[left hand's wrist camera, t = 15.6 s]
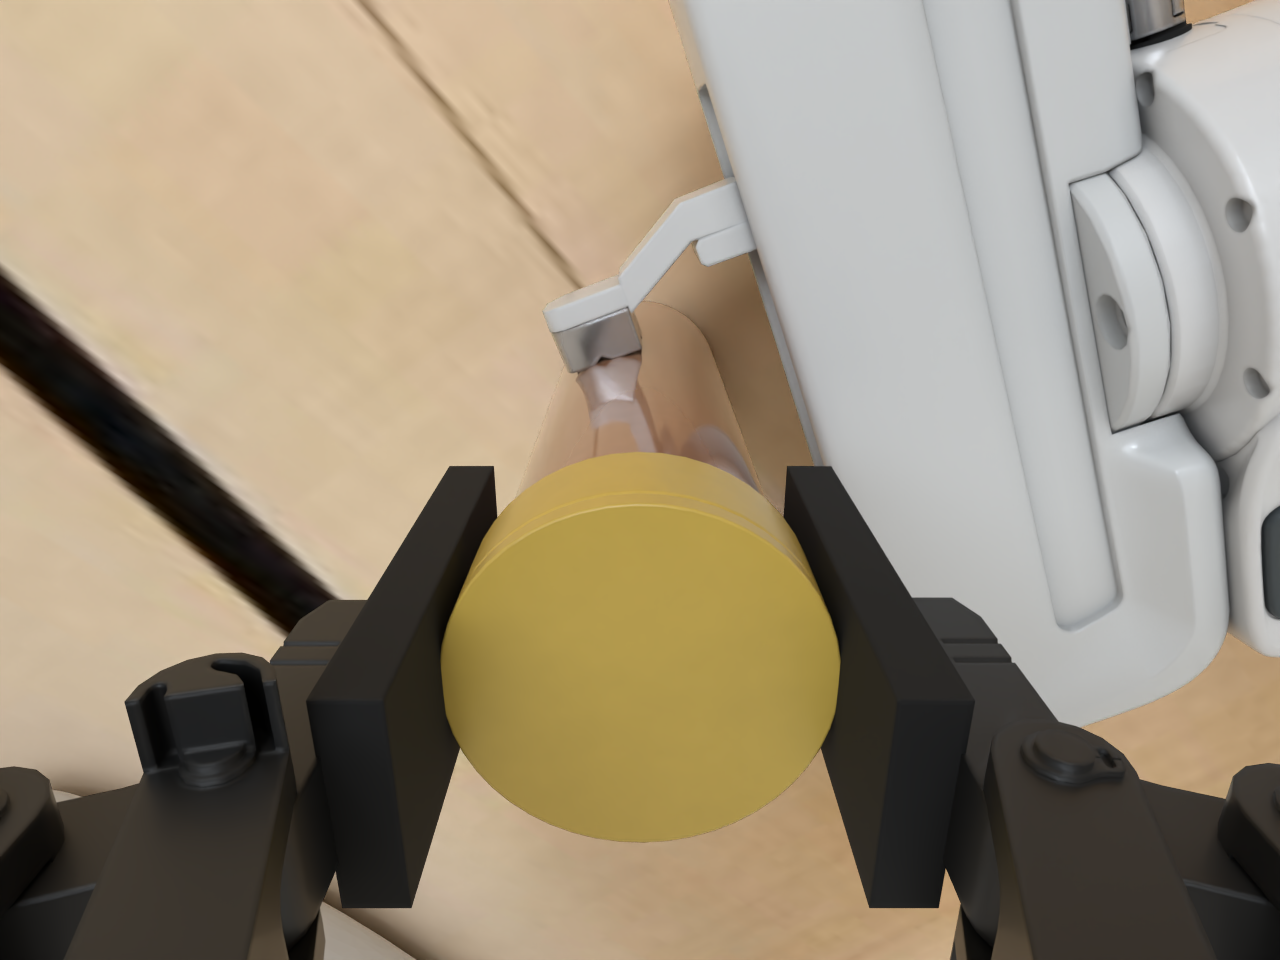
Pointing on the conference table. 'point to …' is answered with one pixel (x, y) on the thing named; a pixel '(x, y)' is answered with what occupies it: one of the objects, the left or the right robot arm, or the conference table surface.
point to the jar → (645, 405)
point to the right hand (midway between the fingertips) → (605, 457)
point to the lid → (640, 651)
